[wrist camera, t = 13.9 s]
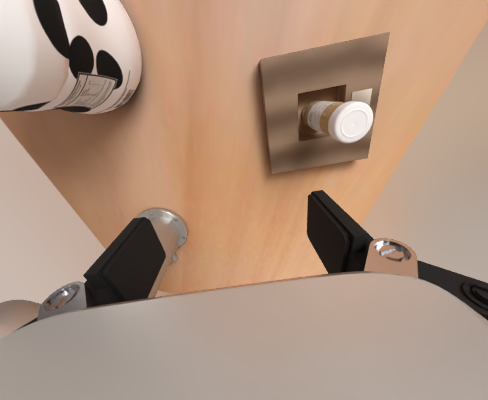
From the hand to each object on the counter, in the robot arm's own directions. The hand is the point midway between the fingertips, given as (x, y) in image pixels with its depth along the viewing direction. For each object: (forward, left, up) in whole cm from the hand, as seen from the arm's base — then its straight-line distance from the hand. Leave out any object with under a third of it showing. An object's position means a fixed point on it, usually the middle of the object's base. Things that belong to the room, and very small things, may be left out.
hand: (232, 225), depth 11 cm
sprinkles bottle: (+2, -14, -27) cm, 31 cm away
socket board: (+2, -14, -27) cm, 31 cm away
